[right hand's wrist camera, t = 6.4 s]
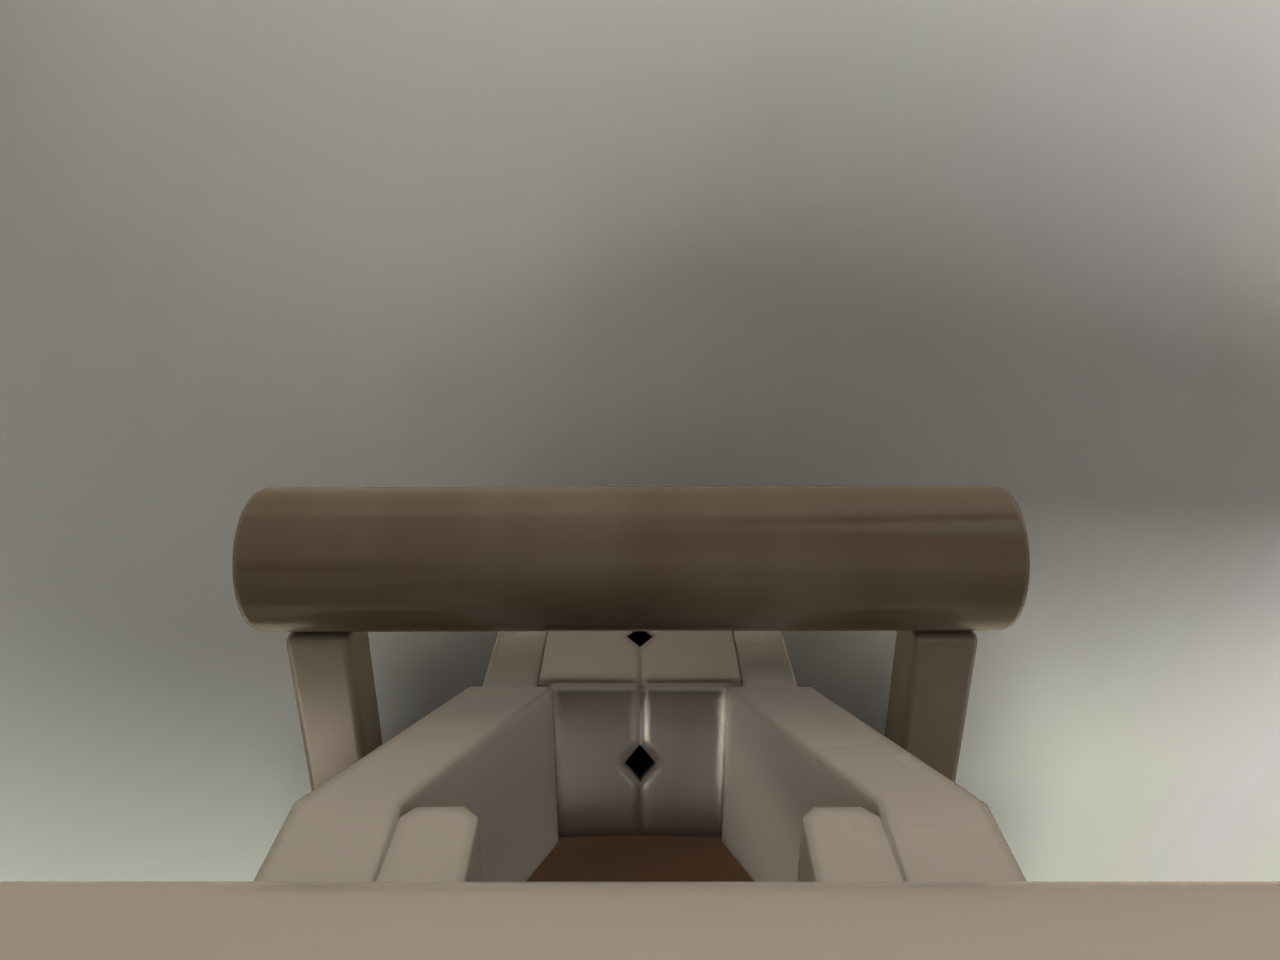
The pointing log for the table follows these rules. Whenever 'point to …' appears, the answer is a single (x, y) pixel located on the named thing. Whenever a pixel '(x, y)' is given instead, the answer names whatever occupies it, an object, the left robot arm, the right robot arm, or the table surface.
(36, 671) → the table surface
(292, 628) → the drawer
